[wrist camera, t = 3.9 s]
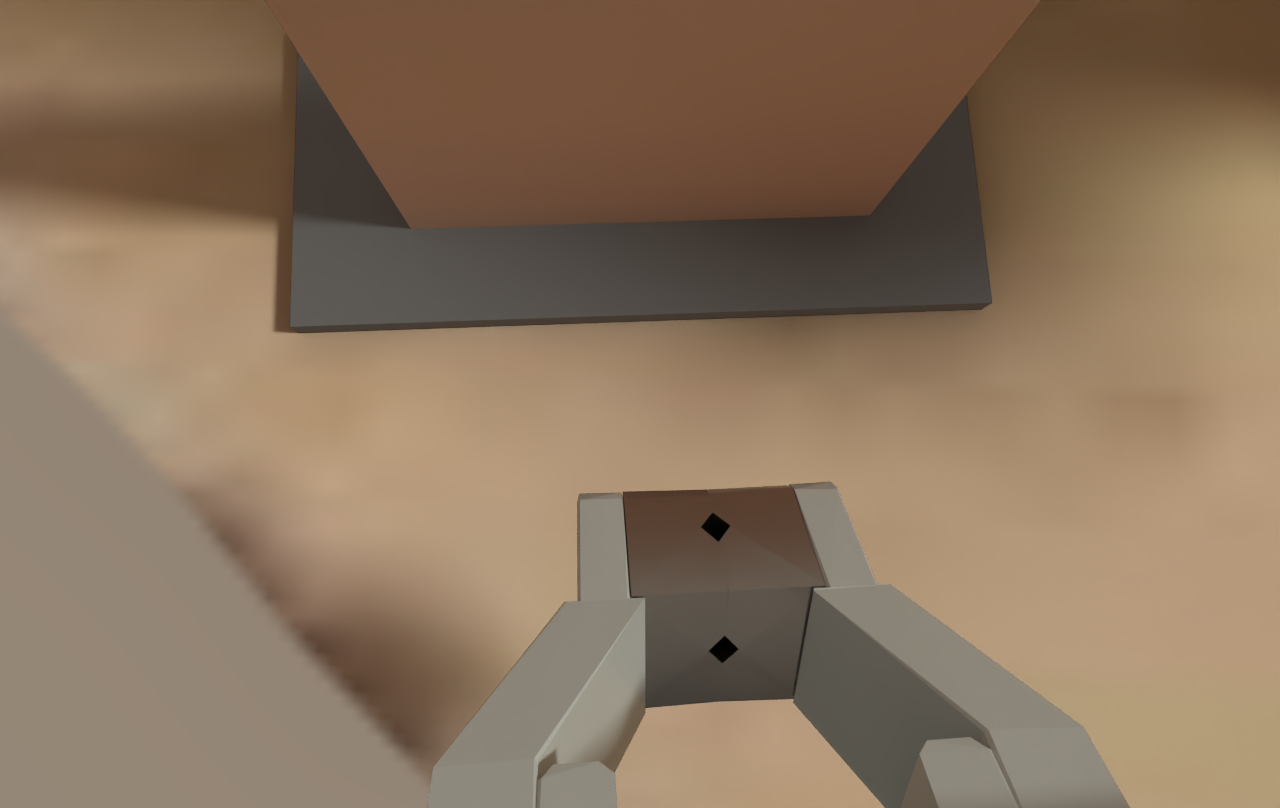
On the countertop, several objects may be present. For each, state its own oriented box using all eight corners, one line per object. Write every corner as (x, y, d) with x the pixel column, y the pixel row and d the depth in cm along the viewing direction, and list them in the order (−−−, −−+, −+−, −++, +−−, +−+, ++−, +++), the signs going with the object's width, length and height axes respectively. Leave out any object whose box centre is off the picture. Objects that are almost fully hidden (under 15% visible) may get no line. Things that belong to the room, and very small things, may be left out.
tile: (862, 145, 22) (1170, -339, 10) (869, 215, 21) (1197, -196, 9) (411, 156, 21) (154, -342, 9) (411, 229, 21) (143, -191, 9)
